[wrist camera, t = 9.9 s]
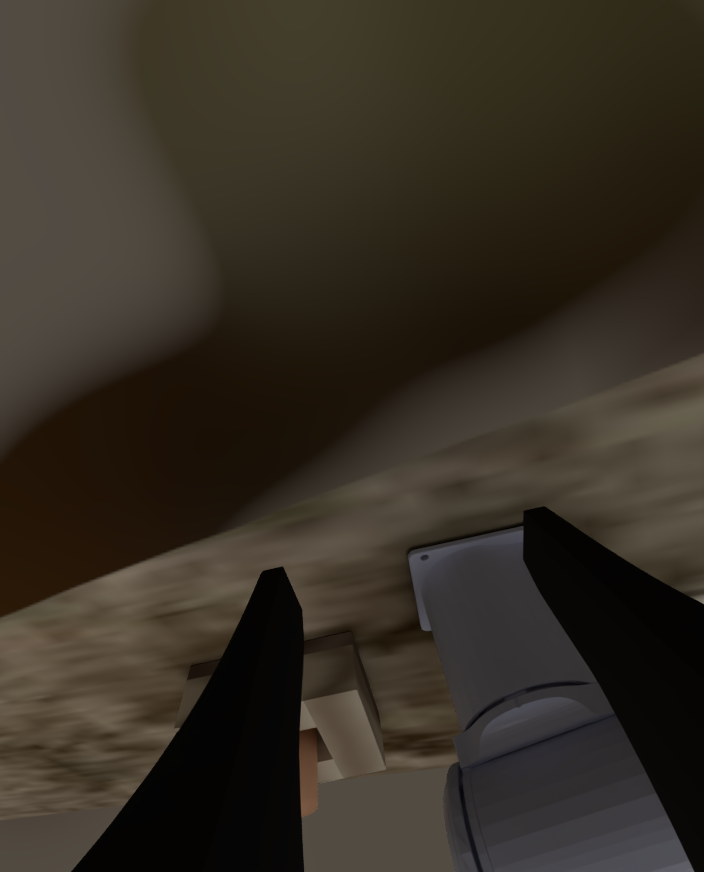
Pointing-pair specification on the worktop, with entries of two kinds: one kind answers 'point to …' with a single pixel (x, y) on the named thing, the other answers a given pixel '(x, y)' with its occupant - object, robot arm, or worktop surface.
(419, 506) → the worktop surface
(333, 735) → the socket block
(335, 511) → the worktop surface
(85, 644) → the worktop surface
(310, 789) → the peg
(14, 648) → the worktop surface
